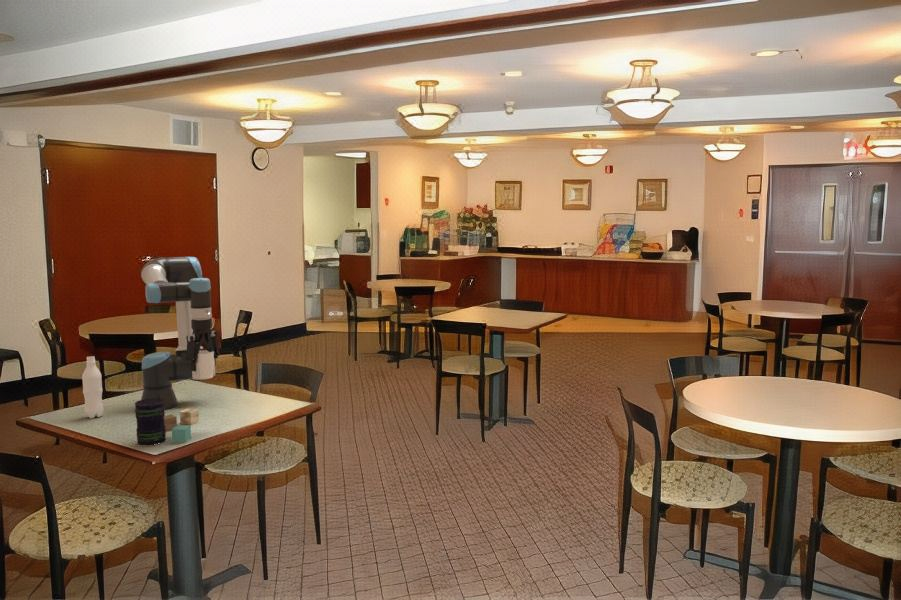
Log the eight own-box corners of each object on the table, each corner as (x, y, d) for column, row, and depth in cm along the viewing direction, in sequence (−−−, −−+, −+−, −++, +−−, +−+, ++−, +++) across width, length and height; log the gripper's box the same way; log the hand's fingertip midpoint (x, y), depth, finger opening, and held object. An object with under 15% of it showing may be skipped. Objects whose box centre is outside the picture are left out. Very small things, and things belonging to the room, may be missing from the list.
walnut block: (158, 429, 272) (157, 416, 272) (170, 426, 276) (170, 414, 275) (164, 431, 269) (164, 419, 268) (177, 428, 273) (176, 416, 272)
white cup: (207, 380, 267) (206, 354, 266) (189, 379, 269) (188, 353, 268) (218, 375, 275) (217, 350, 274) (200, 374, 277) (199, 349, 276)
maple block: (180, 424, 279) (179, 411, 279) (188, 420, 284) (187, 408, 283) (191, 424, 278) (190, 412, 277) (199, 421, 283) (198, 409, 282)
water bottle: (92, 413, 294) (89, 355, 291) (108, 414, 292) (104, 355, 290) (80, 418, 287) (76, 358, 284) (96, 419, 285) (92, 359, 283)
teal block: (172, 442, 256) (171, 429, 255) (177, 438, 261) (177, 425, 260) (185, 442, 256) (185, 429, 255) (191, 438, 261) (190, 425, 260)
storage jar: (172, 439, 260) (170, 399, 258) (151, 447, 251) (149, 406, 249) (152, 436, 263) (149, 397, 262) (130, 443, 254) (128, 403, 253)
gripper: (187, 322, 259) (190, 383, 261) (228, 315, 277) (230, 372, 280) (173, 321, 262) (176, 381, 265) (214, 314, 280) (216, 370, 283)
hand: (204, 376), depth 272 cm, fingers closed on white cup, 8 cm apart
